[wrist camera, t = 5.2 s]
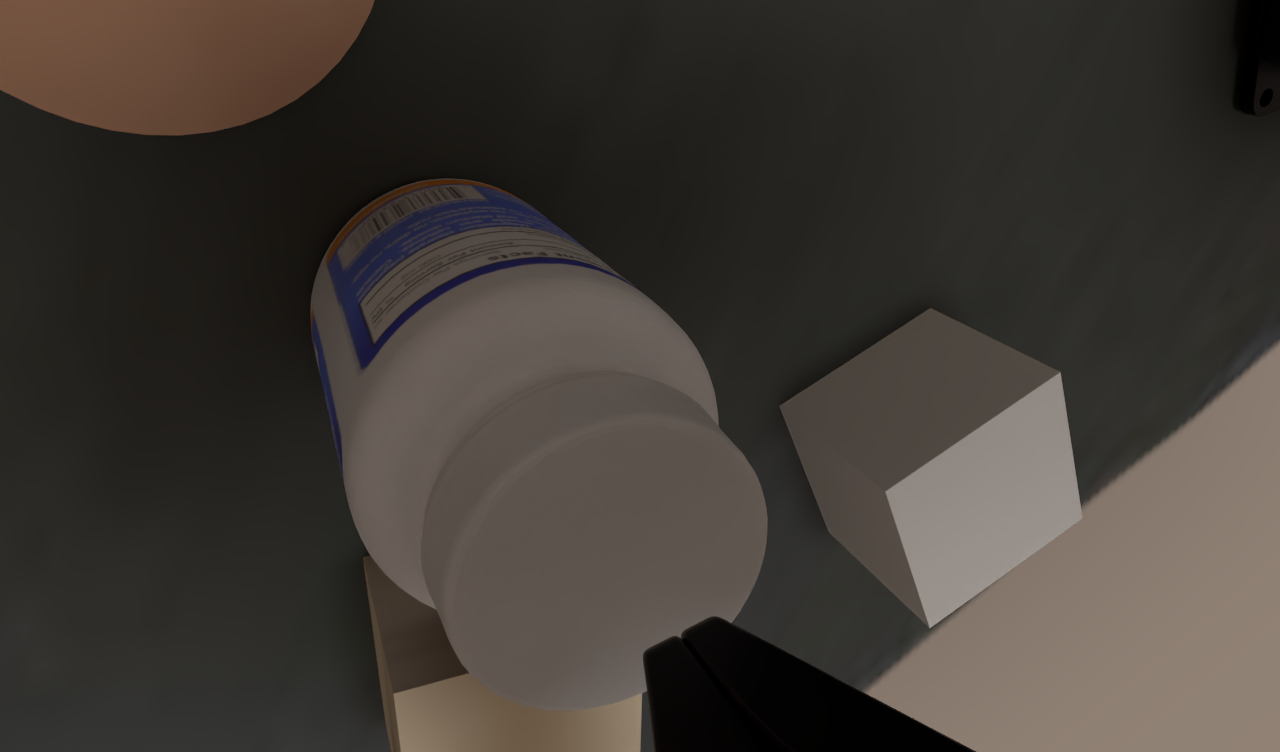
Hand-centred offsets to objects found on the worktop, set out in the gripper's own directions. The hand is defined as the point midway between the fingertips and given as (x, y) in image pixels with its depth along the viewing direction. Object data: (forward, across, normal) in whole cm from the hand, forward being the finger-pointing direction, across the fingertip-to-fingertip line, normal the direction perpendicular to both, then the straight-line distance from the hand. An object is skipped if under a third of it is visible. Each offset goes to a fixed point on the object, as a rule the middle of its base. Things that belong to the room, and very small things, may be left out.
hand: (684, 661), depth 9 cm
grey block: (+11, -10, +8) cm, 17 cm away
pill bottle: (+11, 0, 0) cm, 11 cm away
